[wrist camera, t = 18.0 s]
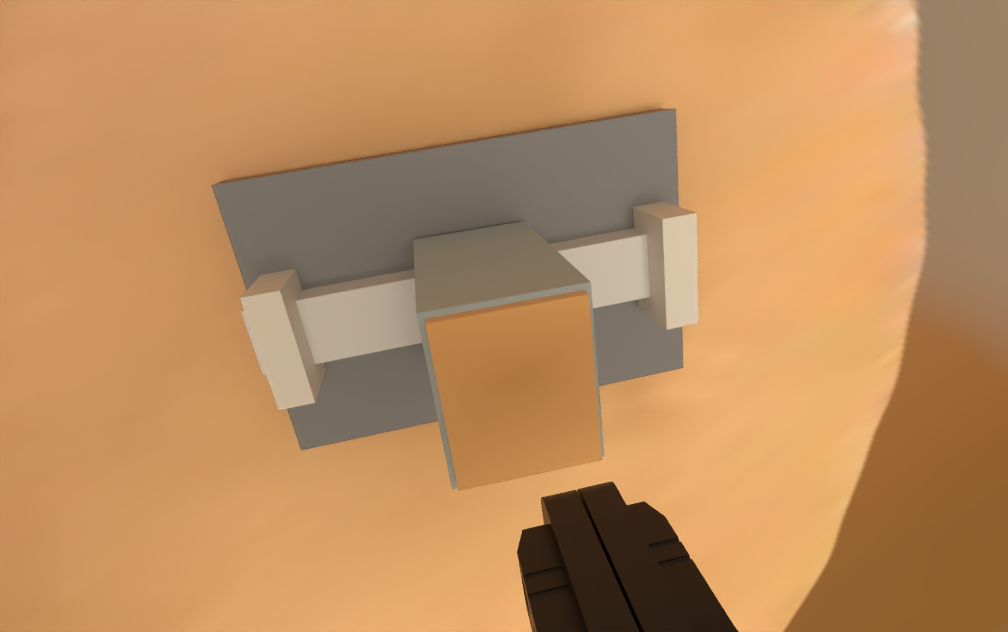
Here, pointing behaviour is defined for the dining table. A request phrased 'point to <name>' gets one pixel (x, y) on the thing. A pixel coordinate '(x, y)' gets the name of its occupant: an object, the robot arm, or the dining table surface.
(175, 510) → the dining table surface
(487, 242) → the plate
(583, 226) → the mounting board
